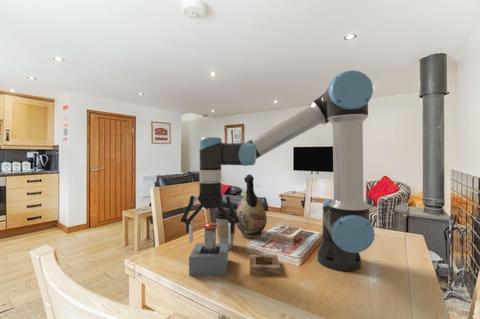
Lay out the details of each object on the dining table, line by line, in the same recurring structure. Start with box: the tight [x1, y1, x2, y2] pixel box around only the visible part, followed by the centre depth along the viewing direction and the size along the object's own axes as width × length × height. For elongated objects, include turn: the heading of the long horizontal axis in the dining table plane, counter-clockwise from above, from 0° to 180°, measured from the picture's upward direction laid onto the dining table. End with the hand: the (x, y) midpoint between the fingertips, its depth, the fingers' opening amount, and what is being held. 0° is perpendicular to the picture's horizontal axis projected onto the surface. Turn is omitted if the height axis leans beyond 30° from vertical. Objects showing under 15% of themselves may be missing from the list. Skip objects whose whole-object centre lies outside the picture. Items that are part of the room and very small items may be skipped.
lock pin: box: [203, 222, 217, 254], centre depth 86 cm, size 5×5×15 cm
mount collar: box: [249, 254, 282, 276], centre depth 86 cm, size 10×10×2 cm
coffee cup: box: [214, 209, 237, 250], centre depth 105 cm, size 9×9×15 cm
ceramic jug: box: [235, 173, 268, 238], centre depth 120 cm, size 17×15×30 cm
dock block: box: [188, 242, 229, 277], centre depth 86 cm, size 12×12×6 cm
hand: (210, 242), depth 86 cm, fingers open, 13 cm apart
